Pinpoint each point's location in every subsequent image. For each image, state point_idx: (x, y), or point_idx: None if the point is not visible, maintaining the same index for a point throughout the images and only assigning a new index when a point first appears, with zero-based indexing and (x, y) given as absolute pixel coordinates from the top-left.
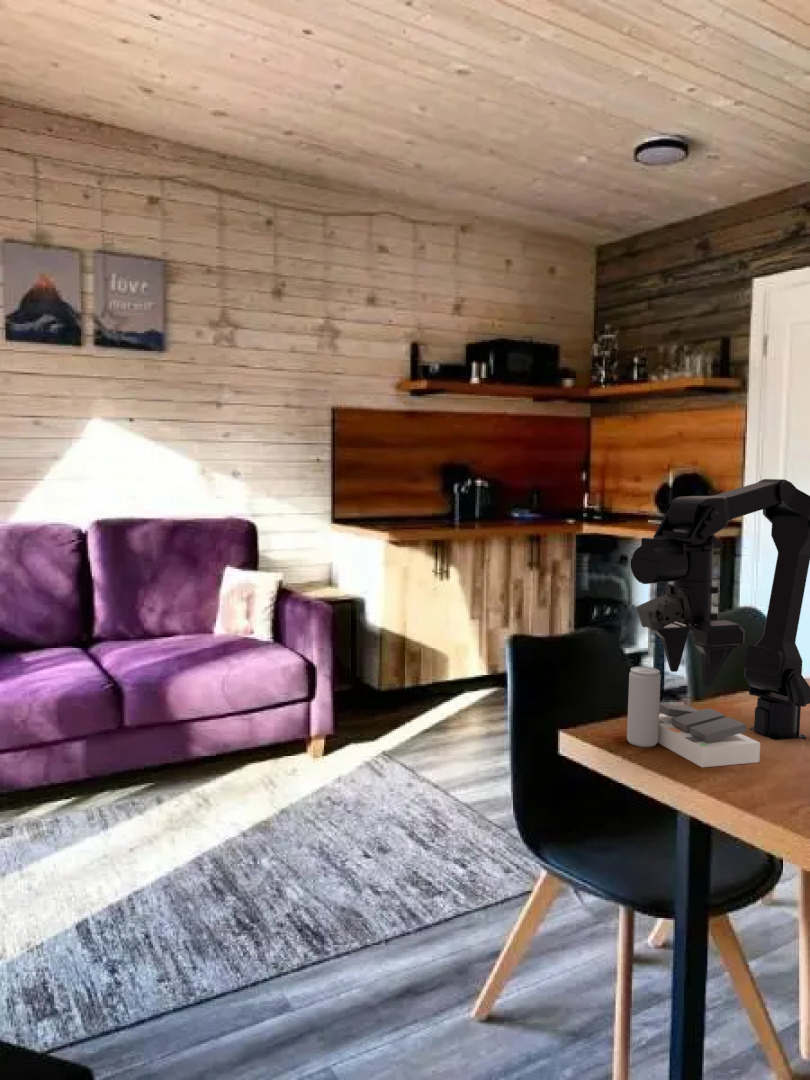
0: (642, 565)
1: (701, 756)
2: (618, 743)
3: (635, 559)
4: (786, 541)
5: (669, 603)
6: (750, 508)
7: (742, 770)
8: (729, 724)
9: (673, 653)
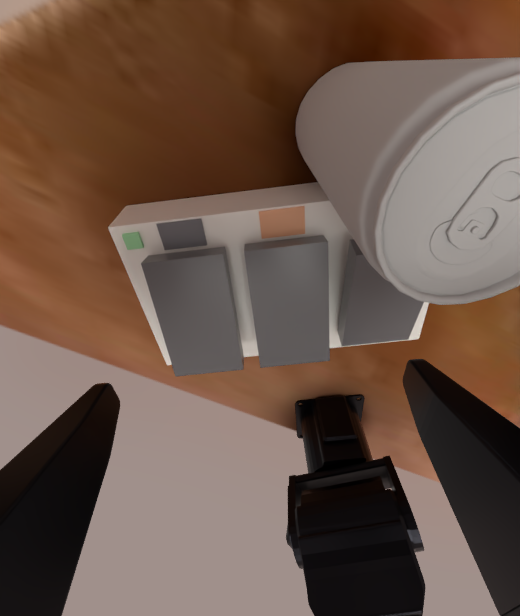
0: None
1: (120, 215)
2: (369, 20)
3: None
4: None
5: None
6: None
7: (120, 286)
8: (189, 348)
9: (469, 463)
